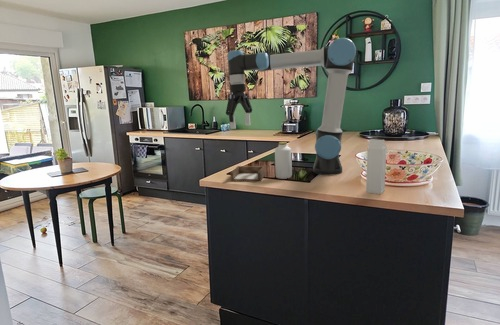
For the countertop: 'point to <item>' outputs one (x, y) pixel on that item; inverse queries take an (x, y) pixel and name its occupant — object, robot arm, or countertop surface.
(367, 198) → the countertop surface
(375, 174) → the milk
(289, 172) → the white bottle
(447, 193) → the countertop surface
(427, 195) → the countertop surface
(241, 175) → the brown tray
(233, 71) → the robot arm
